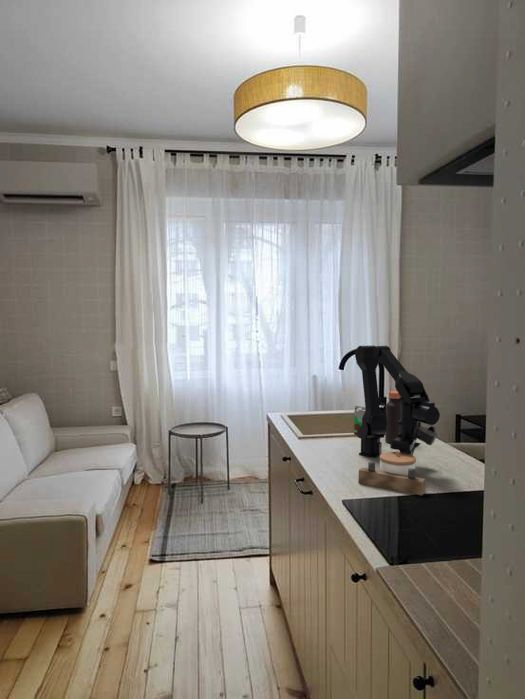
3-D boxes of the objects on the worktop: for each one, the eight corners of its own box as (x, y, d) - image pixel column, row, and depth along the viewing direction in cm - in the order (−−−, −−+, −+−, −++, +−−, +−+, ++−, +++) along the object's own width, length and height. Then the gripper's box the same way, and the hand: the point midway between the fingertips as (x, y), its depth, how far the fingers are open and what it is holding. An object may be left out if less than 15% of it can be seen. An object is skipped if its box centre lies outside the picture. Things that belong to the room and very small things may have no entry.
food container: (368, 435, 208) (369, 412, 208) (353, 434, 210) (354, 411, 209) (368, 428, 221) (369, 406, 220) (354, 428, 222) (354, 405, 221)
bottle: (381, 441, 200) (382, 391, 198) (395, 439, 203) (396, 390, 201) (392, 445, 194) (394, 394, 192) (406, 443, 197) (407, 392, 195)
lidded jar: (373, 482, 153) (374, 452, 152) (387, 473, 161) (387, 444, 160) (407, 490, 146) (408, 458, 145) (420, 480, 155) (421, 450, 154)
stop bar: (358, 482, 152) (358, 461, 152) (362, 479, 155) (362, 459, 154) (421, 495, 142) (422, 473, 142) (424, 492, 145) (425, 470, 144)
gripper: (426, 427, 150) (424, 478, 151) (442, 416, 165) (440, 462, 167) (390, 422, 156) (388, 471, 158) (408, 411, 172) (407, 456, 173)
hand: (407, 465), depth 164 cm, fingers closed
